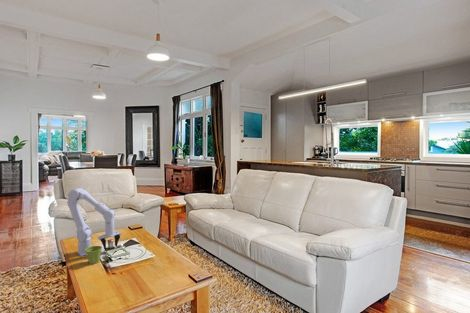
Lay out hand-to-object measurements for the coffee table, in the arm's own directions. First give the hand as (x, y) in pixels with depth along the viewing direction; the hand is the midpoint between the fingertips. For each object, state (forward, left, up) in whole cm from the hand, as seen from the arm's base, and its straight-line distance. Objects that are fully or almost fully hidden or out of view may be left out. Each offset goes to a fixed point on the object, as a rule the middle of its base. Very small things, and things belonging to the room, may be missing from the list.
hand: (110, 247), depth 191 cm
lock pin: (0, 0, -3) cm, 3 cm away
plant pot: (+9, -13, -3) cm, 16 cm away
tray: (+10, +1, -3) cm, 11 cm away
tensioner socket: (0, 0, -3) cm, 3 cm away
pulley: (0, +7, -3) cm, 8 cm away
